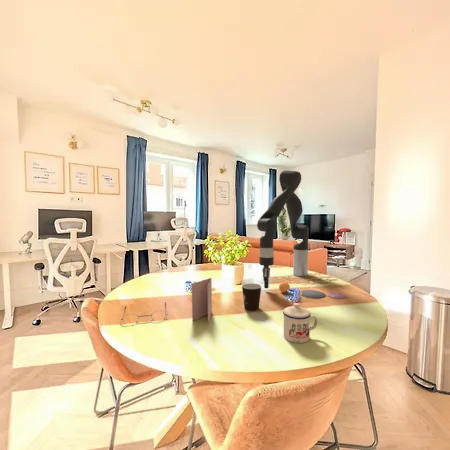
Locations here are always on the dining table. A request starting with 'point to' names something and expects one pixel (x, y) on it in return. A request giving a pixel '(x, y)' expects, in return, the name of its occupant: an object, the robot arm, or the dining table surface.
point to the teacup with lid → (297, 324)
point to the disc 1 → (313, 294)
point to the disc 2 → (337, 295)
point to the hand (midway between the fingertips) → (266, 287)
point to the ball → (284, 287)
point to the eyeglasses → (143, 315)
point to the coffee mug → (251, 296)
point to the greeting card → (202, 299)
